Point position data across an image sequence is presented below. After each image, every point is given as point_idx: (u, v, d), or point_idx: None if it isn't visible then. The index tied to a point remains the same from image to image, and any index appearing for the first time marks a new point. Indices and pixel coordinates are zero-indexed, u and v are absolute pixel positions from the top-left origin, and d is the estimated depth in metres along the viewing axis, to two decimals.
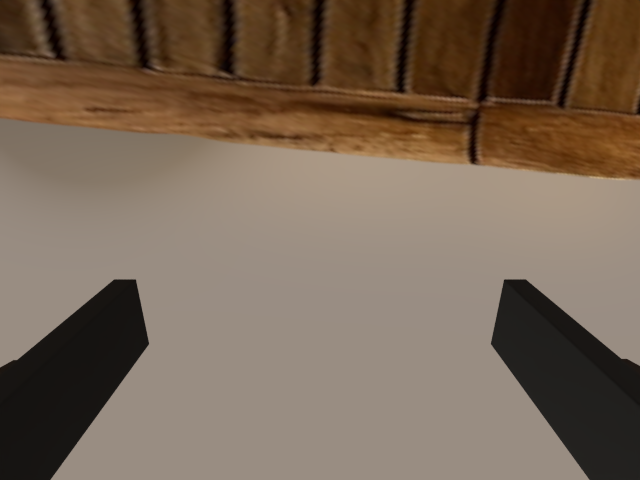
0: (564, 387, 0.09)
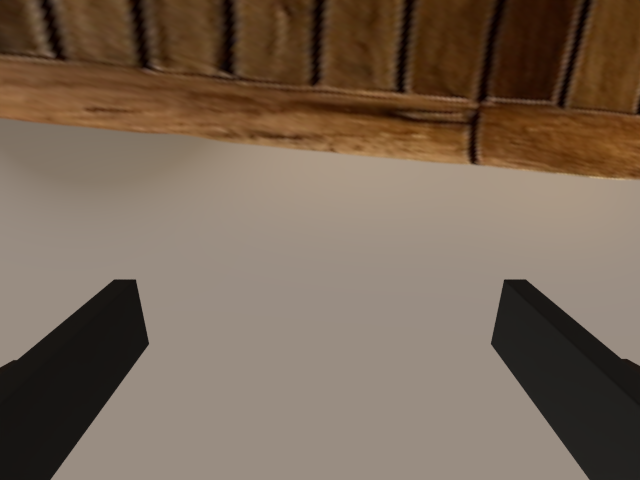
0: (564, 387, 0.09)
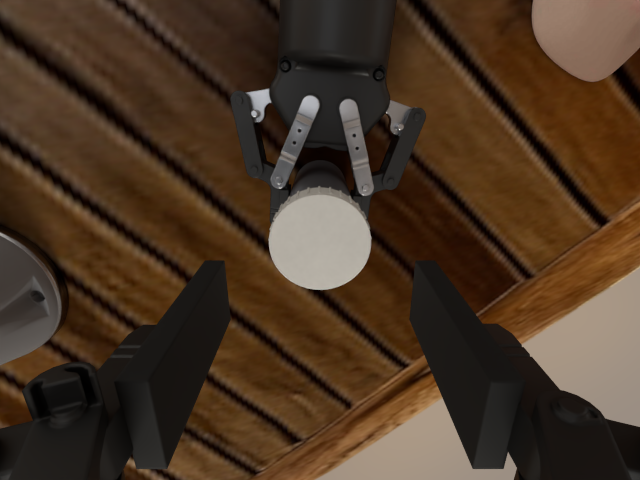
0: (442, 348, 0.11)
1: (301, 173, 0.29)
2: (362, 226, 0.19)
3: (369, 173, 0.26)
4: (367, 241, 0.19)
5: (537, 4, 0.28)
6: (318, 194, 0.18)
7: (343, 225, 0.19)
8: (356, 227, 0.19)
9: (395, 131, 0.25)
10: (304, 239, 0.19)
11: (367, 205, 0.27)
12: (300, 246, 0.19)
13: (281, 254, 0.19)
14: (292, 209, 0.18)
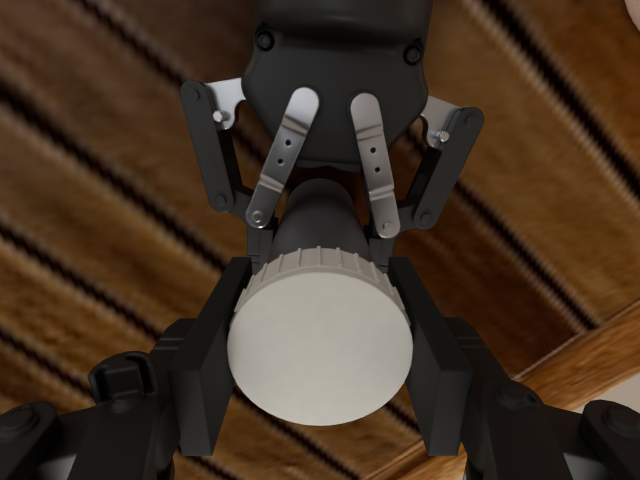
0: None
1: (293, 200, 0.20)
2: (398, 326, 0.10)
3: (394, 206, 0.17)
4: (406, 350, 0.10)
5: None
6: (317, 271, 0.10)
7: (363, 324, 0.10)
8: (387, 328, 0.10)
9: (434, 143, 0.17)
10: (291, 347, 0.10)
11: (389, 250, 0.18)
12: (284, 359, 0.11)
13: (250, 371, 0.11)
14: (268, 298, 0.10)
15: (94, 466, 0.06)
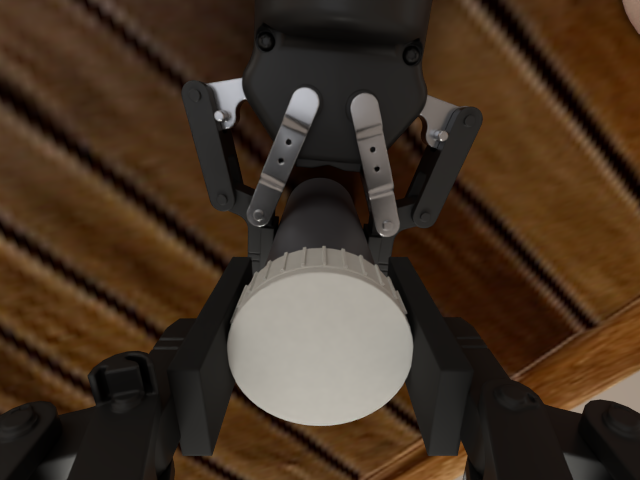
0: None
1: (293, 199, 0.21)
2: (330, 281, 0.10)
3: (393, 204, 0.17)
4: (363, 287, 0.10)
5: None
6: (236, 315, 0.10)
7: (309, 308, 0.10)
8: (326, 291, 0.10)
9: (433, 142, 0.17)
10: (297, 371, 0.11)
11: (389, 249, 0.19)
12: (305, 382, 0.11)
13: (301, 410, 0.11)
14: (238, 362, 0.11)
15: (94, 466, 0.06)
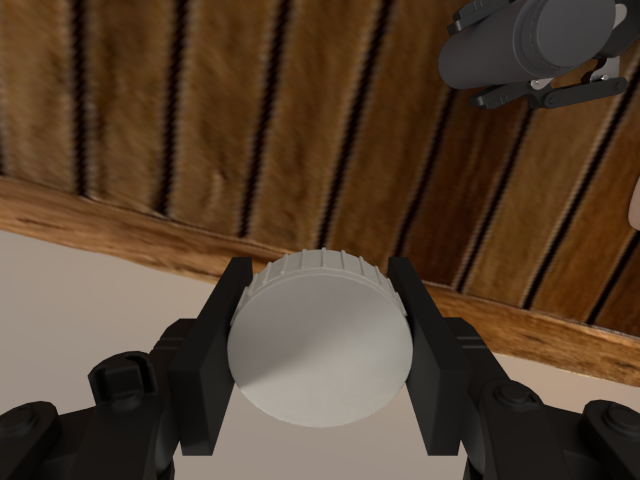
0: None
1: None
2: (330, 283, 0.10)
3: None
4: (362, 289, 0.10)
5: None
6: (236, 317, 0.10)
7: (309, 310, 0.10)
8: (326, 293, 0.10)
9: (593, 77, 0.27)
10: (297, 373, 0.11)
11: (517, 95, 0.27)
12: (305, 383, 0.11)
13: (301, 412, 0.11)
14: (238, 364, 0.11)
15: (94, 466, 0.06)
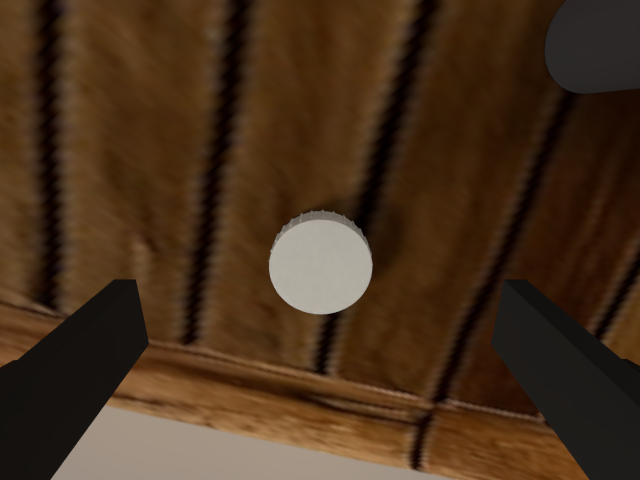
0: (564, 387, 0.09)
1: None
2: (326, 224, 0.18)
3: None
4: (343, 228, 0.18)
5: None
6: (275, 245, 0.19)
7: (315, 240, 0.18)
8: (323, 230, 0.18)
9: None
10: (308, 278, 0.19)
11: None
12: (312, 285, 0.19)
13: (310, 303, 0.20)
14: (275, 272, 0.19)
15: None
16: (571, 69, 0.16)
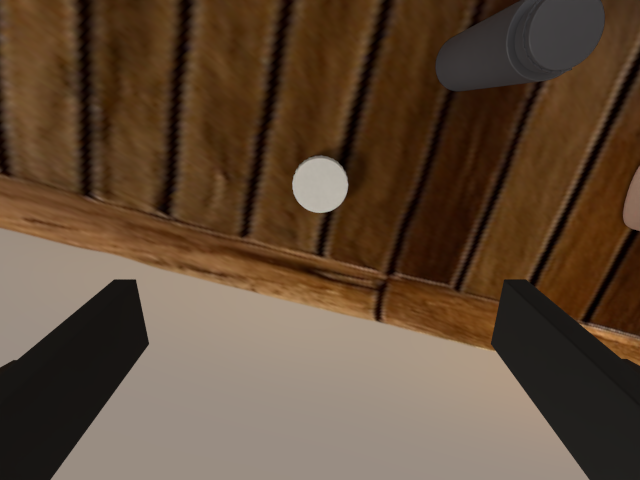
0: (563, 387, 0.09)
1: None
2: (323, 161, 0.34)
3: None
4: (332, 163, 0.35)
5: None
6: (296, 172, 0.35)
7: (317, 169, 0.35)
8: (321, 164, 0.35)
9: None
10: (313, 191, 0.36)
11: None
12: (315, 195, 0.36)
13: (314, 206, 0.36)
14: (296, 188, 0.35)
15: None
16: (445, 79, 0.32)
